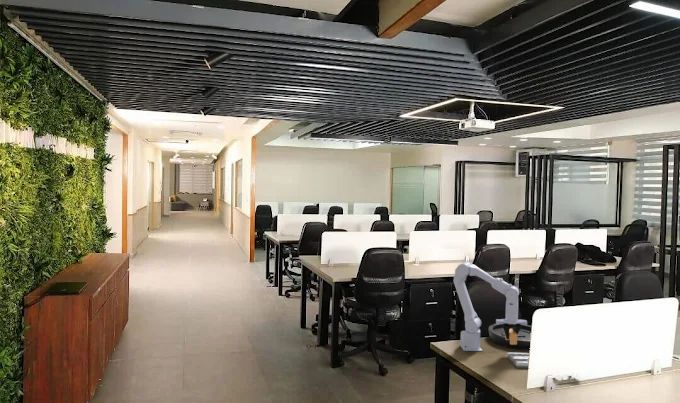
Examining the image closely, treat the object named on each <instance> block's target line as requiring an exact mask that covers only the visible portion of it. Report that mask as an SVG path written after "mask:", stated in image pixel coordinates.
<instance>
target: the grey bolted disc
mask: <svg viewBox="0 0 680 403" xmlns="http://www.w3.org/2000/svg"><path fill="white" fill-rule="evenodd" d="M508 325H509V327H510V329H512V330H513V324H508ZM531 326H532V325H529V324H527V325H522V324H521V329H520V331H519V332H518V335H517V345H511V344H510V340H506V339H505V331H504V328H503V326H502V324H499V325H498V324H496V323H493V324H491V325H489V326H488V333H489V334H488V335H489V337H490V339H491V340H492V342H493V343H496V344H497V345H500V346H501V347H505V348H508V349H512V350H520V351H530V350H529V348H530V331H531Z"/></svg>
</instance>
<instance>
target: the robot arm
mask: <svg viewBox="0 0 680 403" xmlns="http://www.w3.org/2000/svg"><path fill="white" fill-rule="evenodd" d="M468 276H470V277H473V276H475V277H478V278H480V279H482V280H484V281H485V282H486V283H489V284H490V285H491V287H492V289H494V290H495V291H497V292H499V293H501V294H502V295H504V296H505V298H506V299H505V300H506V301H505V318H501V319H499V318H498V319H497V318H496V319H495V324H498V325H499V324H502V326H503V328H504V331H505V335H506V339H509V329H510V327H509V325H508V324H513V331H514V332H515V333H517V335H518V332H519V331H520V329H521V324H522V325H528V320H526V319H519V295H520V289H519V288H518V287H517V286H516V285H512V283H508V282H506V281H505V280H504V279H503V277H494V276H492V275H491V274H489V273H487V272H486V271H485V270H483V269H481V268H480V267H478V266H477V265H476V264H473V263H471V262H470V261H463V262H462V263H460V264H458V265H457V267H456V268H455V269H454V275H453V285H454V287H455V289H456V290H455V291H456V292H457V296H458V299H459V302H460V305H461V308H462V310H463V314H464V328H465V330H462V331H461V330H460V341H459V342H460V343H459V346H460V347H461V349H462V351H463V352H483V349H482V348H481V329H480V327H481V326H482V319H480V317H478V314H477V312H476V311H475V309H474V307H473V304H472V301H471V297H470V295H469V292H468V289H467V286H466V283H465V281H466V279H467V277H468Z"/></svg>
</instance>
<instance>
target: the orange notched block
mask: <svg viewBox="0 0 680 403" xmlns="http://www.w3.org/2000/svg"><path fill="white" fill-rule="evenodd" d="M505 339H506V335H505ZM506 340H510V344H511V345H517V333H515V332H514V331H513V330H512V329H509V339H506Z"/></svg>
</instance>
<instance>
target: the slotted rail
mask: <svg viewBox="0 0 680 403" xmlns="http://www.w3.org/2000/svg"><path fill="white" fill-rule="evenodd" d="M529 356H530V353H529V352H509V351H508V352H507V353H506V358H507V359H508V360H509V361H510V363H512V364H513V366H514V367H515V368H516V369H529V368H528V358H529Z"/></svg>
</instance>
